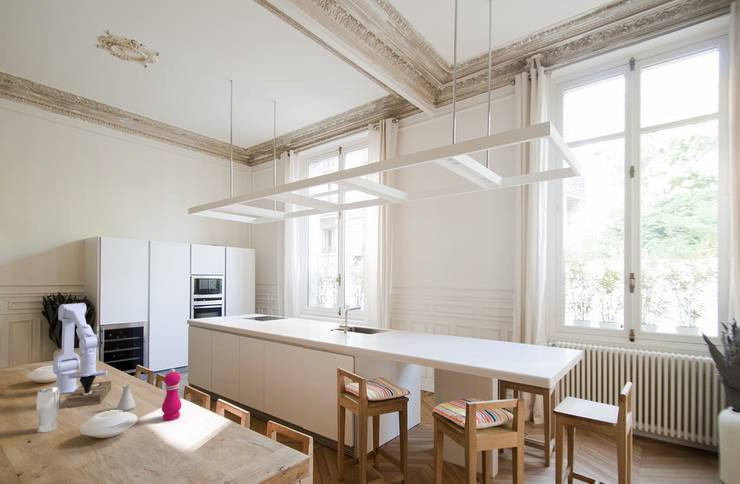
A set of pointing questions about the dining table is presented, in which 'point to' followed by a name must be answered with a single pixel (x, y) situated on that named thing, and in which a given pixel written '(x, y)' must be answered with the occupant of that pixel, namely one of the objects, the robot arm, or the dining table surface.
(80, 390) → the walnut block
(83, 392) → the birch peg outer
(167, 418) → the pepper mill
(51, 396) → the beer glass
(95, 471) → the dining table surface
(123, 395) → the flask
